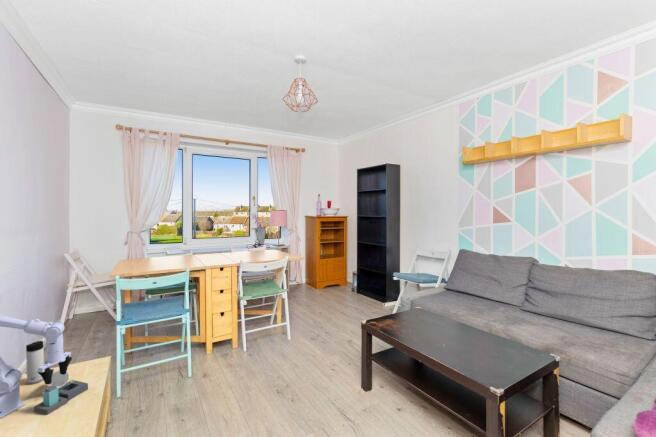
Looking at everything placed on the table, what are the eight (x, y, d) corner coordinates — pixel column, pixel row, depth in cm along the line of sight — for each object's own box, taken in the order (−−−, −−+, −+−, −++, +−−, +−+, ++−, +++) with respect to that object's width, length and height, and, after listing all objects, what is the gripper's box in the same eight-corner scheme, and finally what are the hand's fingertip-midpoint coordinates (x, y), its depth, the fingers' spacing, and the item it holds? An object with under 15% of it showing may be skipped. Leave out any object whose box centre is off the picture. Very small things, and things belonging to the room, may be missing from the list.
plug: (49, 410, 133) (49, 390, 133) (43, 408, 134) (42, 389, 134) (58, 404, 137) (58, 385, 136) (52, 403, 138) (52, 384, 137)
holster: (47, 414, 131) (47, 410, 131) (34, 411, 133) (33, 406, 133) (67, 402, 139) (67, 398, 138) (54, 399, 140) (54, 395, 140)
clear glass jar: (43, 381, 148) (42, 383, 141) (59, 365, 153) (58, 366, 146) (58, 389, 151) (58, 391, 143) (73, 374, 156) (73, 375, 148)
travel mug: (34, 385, 150) (33, 346, 149) (23, 383, 152) (22, 344, 150) (48, 378, 156) (47, 340, 155) (38, 376, 158) (36, 339, 156)
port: (68, 400, 140) (68, 394, 140) (51, 396, 142) (51, 390, 142) (87, 389, 148) (87, 382, 148) (72, 385, 151) (72, 379, 151)
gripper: (49, 358, 132) (49, 388, 133) (76, 342, 146) (77, 370, 147) (32, 358, 132) (33, 388, 133) (62, 342, 146) (63, 369, 147)
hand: (55, 378), depth 140 cm, fingers open, 7 cm apart
